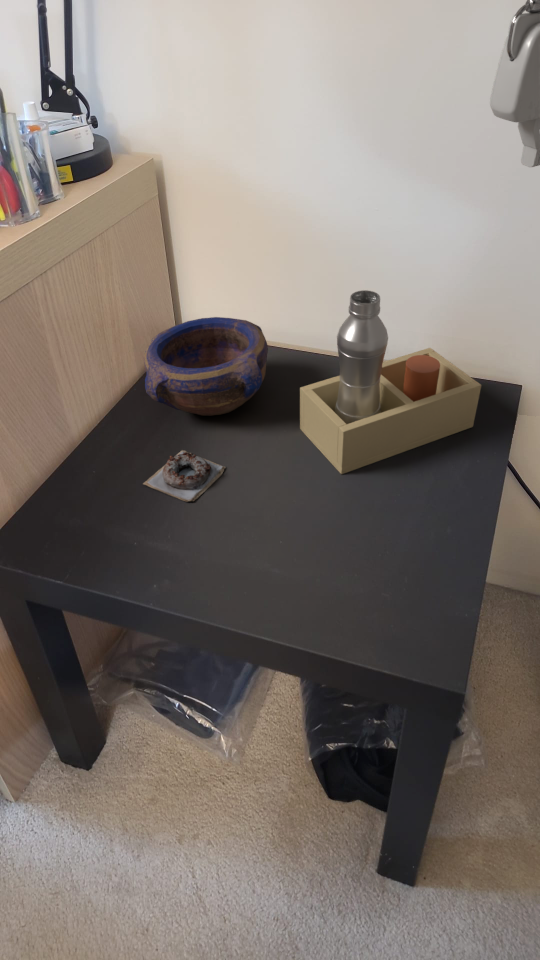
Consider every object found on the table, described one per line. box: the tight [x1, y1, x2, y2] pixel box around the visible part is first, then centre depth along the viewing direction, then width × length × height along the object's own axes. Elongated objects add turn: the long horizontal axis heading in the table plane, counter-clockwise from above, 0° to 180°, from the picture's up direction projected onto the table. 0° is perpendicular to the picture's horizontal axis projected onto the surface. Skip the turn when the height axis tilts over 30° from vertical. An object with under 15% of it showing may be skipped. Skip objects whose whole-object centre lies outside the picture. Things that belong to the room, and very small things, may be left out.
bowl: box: [143, 316, 269, 417], centre depth 100 cm, size 18×18×10 cm
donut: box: [142, 449, 226, 503], centre depth 89 cm, size 8×8×2 cm
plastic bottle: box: [334, 289, 389, 424], centre depth 88 cm, size 6×7×20 cm
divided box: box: [299, 347, 482, 475], centre depth 95 cm, size 11×22×7 cm, turn 117°
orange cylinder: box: [403, 355, 440, 402], centre depth 95 cm, size 5×5×8 cm
